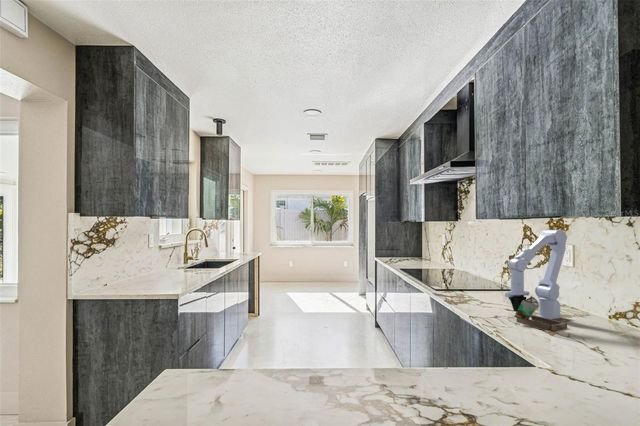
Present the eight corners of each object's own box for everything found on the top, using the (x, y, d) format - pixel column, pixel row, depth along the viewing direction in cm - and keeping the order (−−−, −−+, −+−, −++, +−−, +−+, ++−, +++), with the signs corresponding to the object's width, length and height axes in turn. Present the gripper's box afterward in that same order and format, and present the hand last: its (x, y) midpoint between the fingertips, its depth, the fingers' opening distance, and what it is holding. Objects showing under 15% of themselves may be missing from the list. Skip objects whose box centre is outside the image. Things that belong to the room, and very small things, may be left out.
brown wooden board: (532, 319, 186) (532, 315, 186) (567, 327, 170) (567, 323, 170) (516, 321, 182) (516, 317, 182) (550, 330, 166) (550, 326, 166)
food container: (525, 325, 178) (535, 307, 175) (512, 317, 182) (522, 299, 179) (534, 319, 187) (544, 302, 183) (521, 312, 191) (531, 295, 187)
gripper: (520, 281, 194) (520, 308, 194) (499, 282, 188) (499, 310, 188) (533, 283, 188) (533, 311, 187) (512, 285, 182) (512, 313, 181)
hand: (517, 310), depth 187 cm, fingers closed
